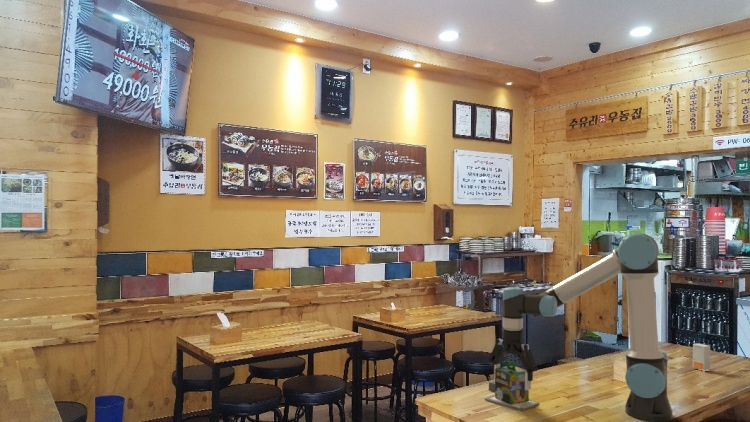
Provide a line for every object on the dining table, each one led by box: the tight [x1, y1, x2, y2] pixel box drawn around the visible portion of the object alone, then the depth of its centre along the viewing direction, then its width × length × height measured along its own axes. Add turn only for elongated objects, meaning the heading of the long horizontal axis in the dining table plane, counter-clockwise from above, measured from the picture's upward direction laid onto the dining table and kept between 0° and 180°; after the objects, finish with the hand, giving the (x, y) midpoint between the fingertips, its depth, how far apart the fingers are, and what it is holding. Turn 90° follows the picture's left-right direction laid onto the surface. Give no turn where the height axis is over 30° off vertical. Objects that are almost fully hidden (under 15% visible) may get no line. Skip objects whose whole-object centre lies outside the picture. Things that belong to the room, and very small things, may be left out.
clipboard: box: [484, 394, 540, 412], centre depth 208 cm, size 16×12×1 cm
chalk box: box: [494, 359, 530, 404], centre depth 209 cm, size 9×9×15 cm
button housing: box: [488, 380, 495, 393], centre depth 223 cm, size 8×8×3 cm
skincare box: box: [692, 342, 711, 370], centre depth 262 cm, size 6×4×12 cm
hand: (512, 385), depth 209 cm, fingers open, 13 cm apart
